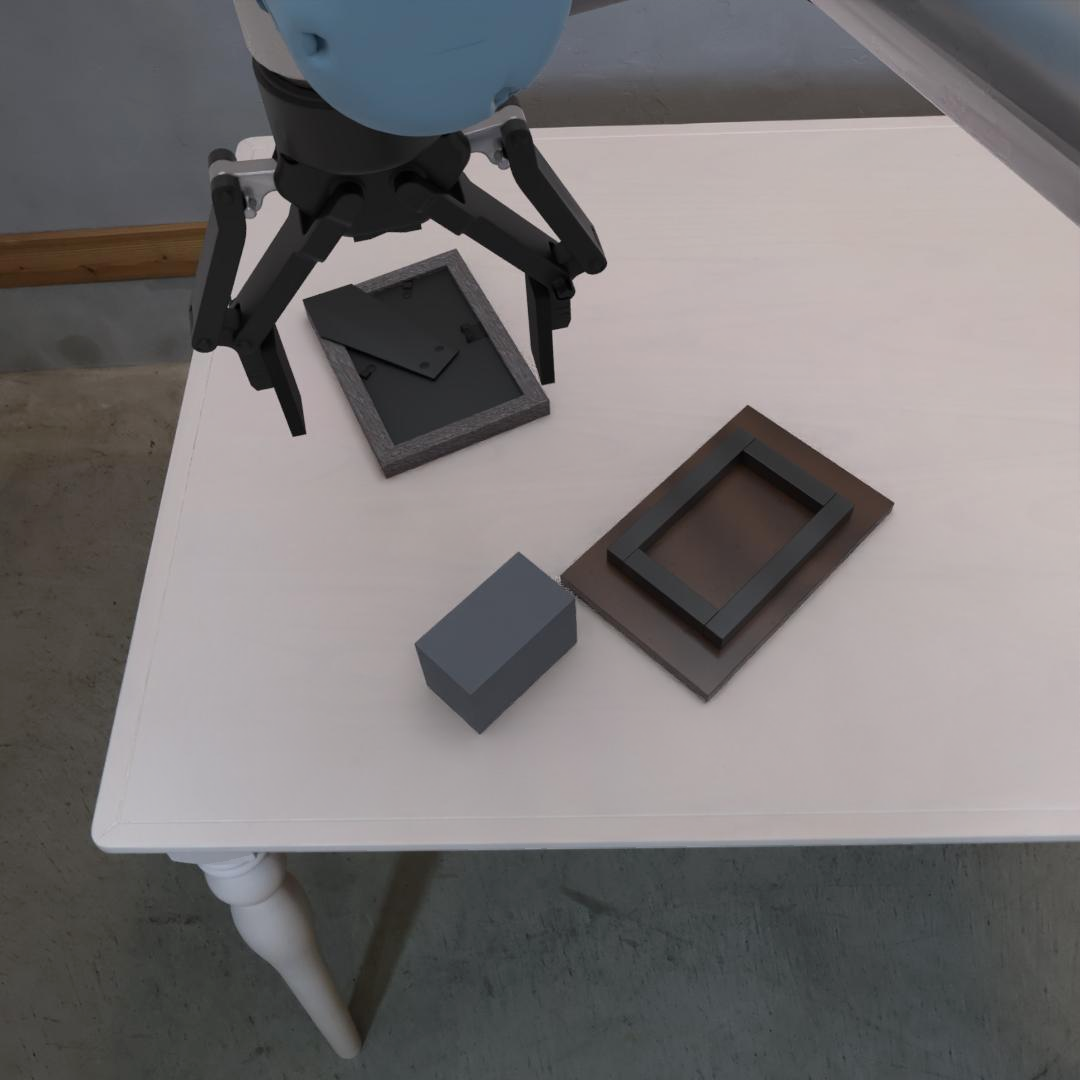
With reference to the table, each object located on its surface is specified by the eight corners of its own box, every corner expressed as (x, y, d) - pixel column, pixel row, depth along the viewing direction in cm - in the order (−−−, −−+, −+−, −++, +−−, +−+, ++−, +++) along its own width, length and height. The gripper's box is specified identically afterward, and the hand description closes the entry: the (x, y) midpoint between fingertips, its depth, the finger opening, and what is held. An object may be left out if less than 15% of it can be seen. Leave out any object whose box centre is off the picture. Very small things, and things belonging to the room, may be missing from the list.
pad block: (524, 597, 77) (518, 550, 71) (577, 642, 75) (575, 597, 69) (426, 685, 73) (413, 643, 68) (479, 734, 71) (470, 695, 66)
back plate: (746, 412, 84) (749, 390, 82) (892, 510, 79) (900, 490, 77) (560, 582, 77) (559, 563, 75) (707, 702, 72) (710, 686, 70)
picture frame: (307, 317, 91) (386, 478, 82) (302, 299, 90) (381, 462, 81) (458, 262, 94) (550, 413, 85) (455, 244, 92) (549, 396, 83)
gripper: (633, -73, 46) (624, 297, 64) (19, 35, 44) (187, 385, 62) (686, 33, 42) (661, 396, 60) (14, 157, 40) (196, 494, 58)
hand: (421, 391), depth 61 cm, fingers open, 13 cm apart
